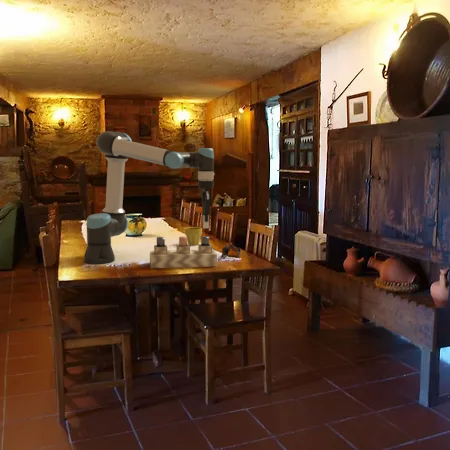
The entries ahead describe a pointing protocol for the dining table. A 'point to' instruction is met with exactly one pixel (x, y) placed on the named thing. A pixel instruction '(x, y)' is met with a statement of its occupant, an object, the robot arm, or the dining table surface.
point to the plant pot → (193, 235)
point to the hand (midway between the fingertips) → (205, 227)
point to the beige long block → (183, 257)
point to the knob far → (205, 241)
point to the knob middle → (182, 241)
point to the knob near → (160, 241)
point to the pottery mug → (232, 246)
